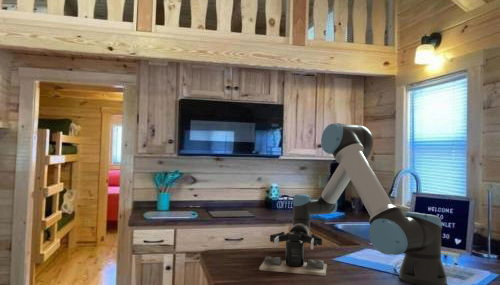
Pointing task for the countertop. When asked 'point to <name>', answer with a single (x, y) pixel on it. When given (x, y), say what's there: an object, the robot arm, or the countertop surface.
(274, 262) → the cream base tray
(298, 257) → the supplement bottle
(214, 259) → the countertop surface
